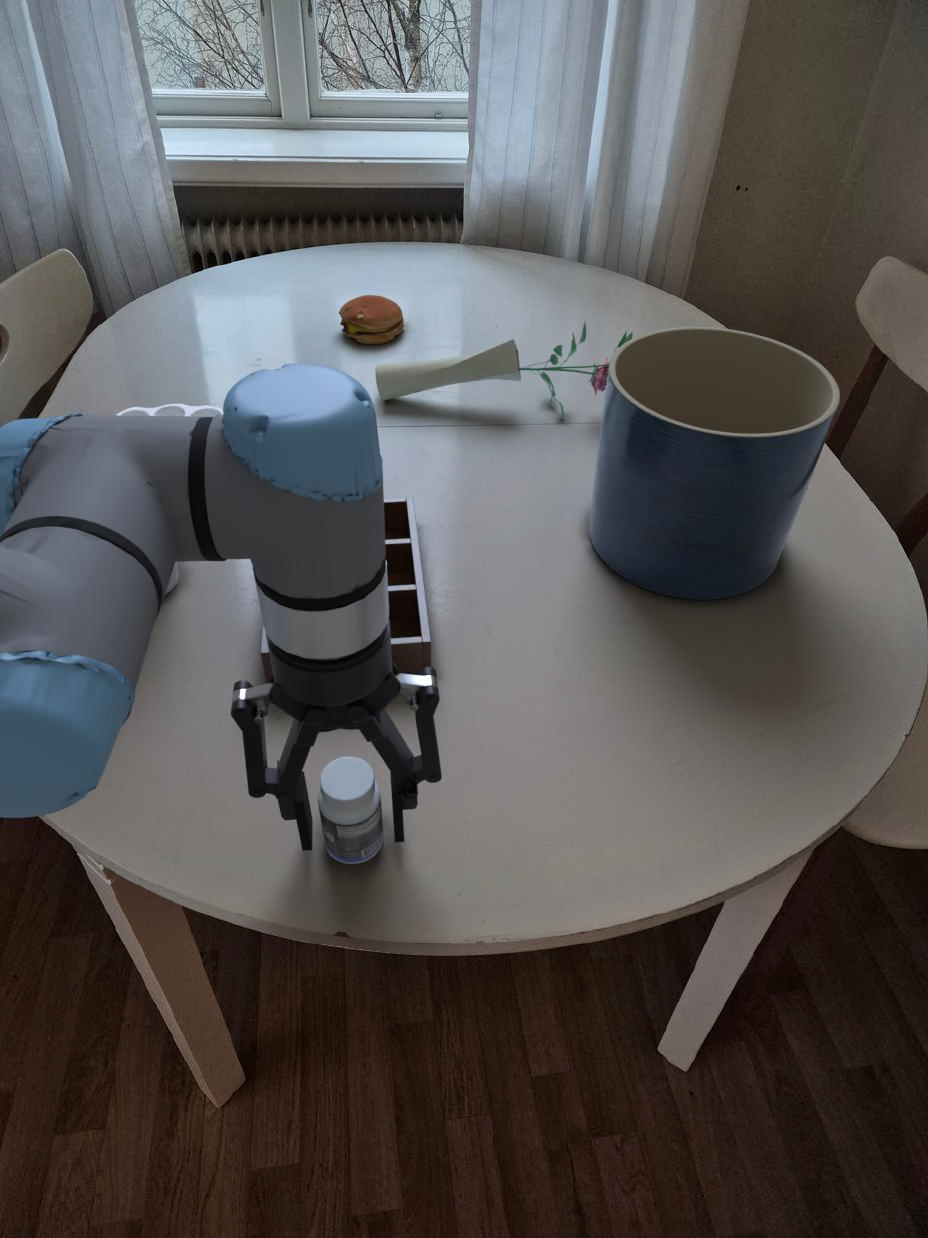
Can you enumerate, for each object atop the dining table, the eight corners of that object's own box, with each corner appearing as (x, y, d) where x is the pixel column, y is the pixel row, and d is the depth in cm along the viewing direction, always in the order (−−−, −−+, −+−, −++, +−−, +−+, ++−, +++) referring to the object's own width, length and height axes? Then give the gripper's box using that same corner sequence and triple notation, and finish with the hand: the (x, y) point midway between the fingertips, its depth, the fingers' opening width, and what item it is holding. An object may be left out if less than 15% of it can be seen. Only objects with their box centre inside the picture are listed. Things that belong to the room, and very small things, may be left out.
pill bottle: (321, 820, 70) (311, 757, 64) (378, 810, 71) (373, 746, 65) (328, 871, 67) (317, 809, 61) (388, 860, 68) (383, 798, 62)
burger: (405, 319, 138) (404, 290, 135) (402, 346, 131) (401, 316, 128) (343, 318, 138) (341, 289, 134) (337, 345, 131) (334, 315, 128)
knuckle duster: (92, 479, 104) (136, 417, 115) (238, 489, 103) (269, 425, 114) (84, 455, 102) (129, 394, 112) (234, 465, 101) (265, 402, 111)
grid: (267, 687, 80) (260, 653, 77) (277, 537, 97) (271, 503, 94) (431, 675, 82) (431, 641, 79) (413, 529, 98) (413, 496, 95)
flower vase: (401, 433, 127) (642, 397, 121) (385, 455, 116) (648, 416, 110) (384, 351, 122) (634, 309, 116) (365, 366, 111) (640, 320, 105)
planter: (545, 524, 99) (562, 362, 86) (677, 463, 109) (712, 309, 95) (688, 633, 87) (736, 464, 73) (823, 553, 97) (887, 390, 83)
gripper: (478, 571, 56) (469, 782, 72) (171, 589, 54) (232, 802, 70) (494, 654, 50) (481, 862, 66) (154, 677, 48) (224, 886, 64)
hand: (353, 831), depth 68 cm, fingers open, 6 cm apart
